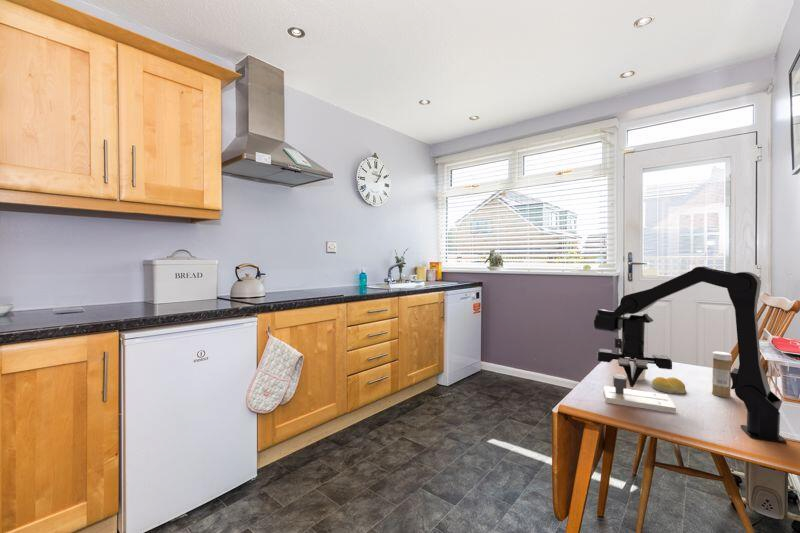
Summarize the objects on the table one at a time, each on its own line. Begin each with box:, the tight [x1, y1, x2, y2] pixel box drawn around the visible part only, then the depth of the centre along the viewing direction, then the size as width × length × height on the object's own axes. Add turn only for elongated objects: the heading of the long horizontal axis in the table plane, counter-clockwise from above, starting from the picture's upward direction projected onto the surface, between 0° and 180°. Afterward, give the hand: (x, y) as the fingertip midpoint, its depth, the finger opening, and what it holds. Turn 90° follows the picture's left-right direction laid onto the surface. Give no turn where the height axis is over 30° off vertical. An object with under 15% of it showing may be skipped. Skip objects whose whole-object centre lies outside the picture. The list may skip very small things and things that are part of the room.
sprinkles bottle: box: [711, 350, 733, 398], centre depth 115 cm, size 5×5×13 cm
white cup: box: [625, 357, 647, 381], centre depth 132 cm, size 7×7×7 cm
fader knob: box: [612, 373, 628, 394], centre depth 112 cm, size 4×3×5 cm
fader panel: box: [603, 385, 677, 414], centre depth 111 cm, size 11×17×2 cm, turn 64°
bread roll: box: [651, 376, 687, 395], centre depth 120 cm, size 8×9×4 cm
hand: (631, 386), depth 111 cm, fingers closed
